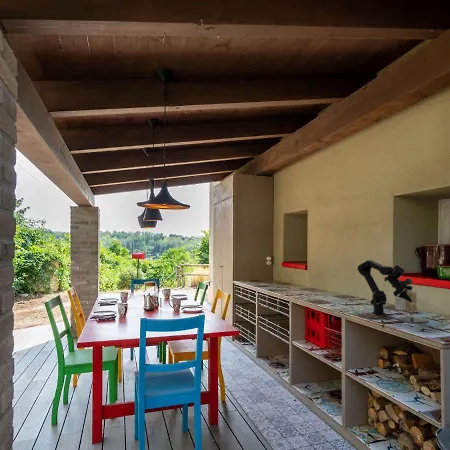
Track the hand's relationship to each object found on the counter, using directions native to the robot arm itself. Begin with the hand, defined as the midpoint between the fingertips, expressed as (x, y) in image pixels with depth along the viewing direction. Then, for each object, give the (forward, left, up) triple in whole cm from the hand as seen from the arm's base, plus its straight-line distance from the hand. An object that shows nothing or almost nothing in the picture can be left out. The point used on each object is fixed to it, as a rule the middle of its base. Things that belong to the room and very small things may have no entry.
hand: (413, 301), depth 232 cm
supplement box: (-32, +20, -13) cm, 40 cm away
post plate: (-1, -1, -12) cm, 13 cm away
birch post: (-1, -1, -7) cm, 7 cm away
